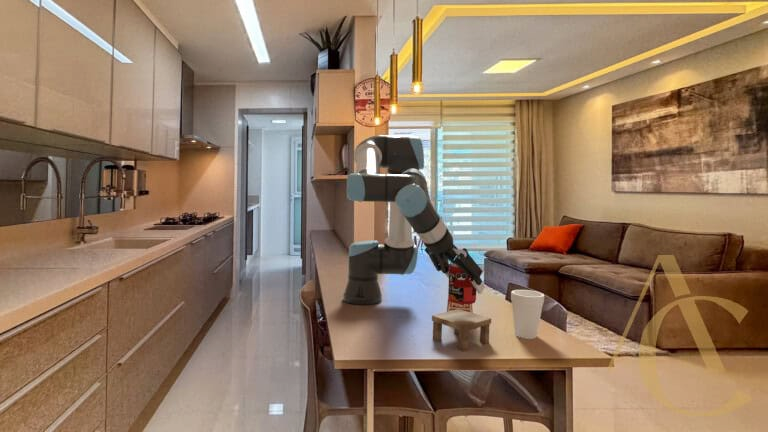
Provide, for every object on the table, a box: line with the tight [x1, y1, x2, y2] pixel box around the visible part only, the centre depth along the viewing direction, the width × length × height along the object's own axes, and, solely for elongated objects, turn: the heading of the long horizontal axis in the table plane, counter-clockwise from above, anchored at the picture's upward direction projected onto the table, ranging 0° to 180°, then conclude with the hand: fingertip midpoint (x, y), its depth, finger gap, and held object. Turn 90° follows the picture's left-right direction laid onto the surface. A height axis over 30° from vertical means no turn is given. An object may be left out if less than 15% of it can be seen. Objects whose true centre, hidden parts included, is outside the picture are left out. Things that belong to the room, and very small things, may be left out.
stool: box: [431, 309, 492, 352], centre depth 120 cm, size 12×12×7 cm
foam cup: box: [510, 289, 545, 340], centre depth 126 cm, size 10×9×13 cm
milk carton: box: [446, 298, 474, 313], centre depth 143 cm, size 9×9×20 cm
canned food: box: [447, 261, 477, 305], centre depth 119 cm, size 8×8×11 cm
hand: (469, 287), depth 121 cm, fingers closed on canned food, 8 cm apart
